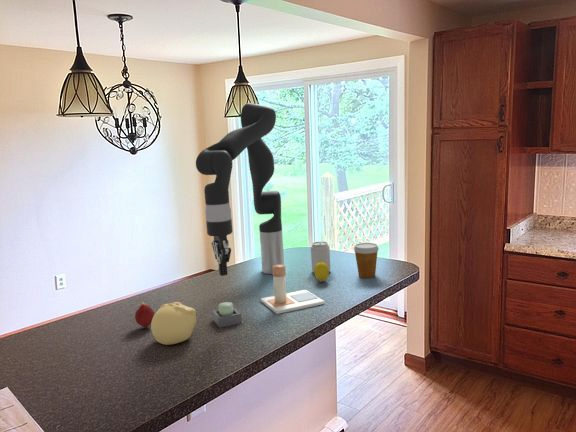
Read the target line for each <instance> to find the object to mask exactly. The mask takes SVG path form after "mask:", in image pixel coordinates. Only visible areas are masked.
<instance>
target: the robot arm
mask: <svg viewBox="0 0 576 432" xmlns="http://www.w3.org/2000/svg"><path fill="white" fill-rule="evenodd" d="M240 111H241V112H240V126H241V127H239V128H237V129H234V130H232V131H230V132H227V134H226V135H225V136H223V137H222V138H221V139H220V140H219V141H218V142H217V143H214V144H212V145H210V146H208V147H205V148H204V149H202V151H201V152H199V153H198V155H197V157H196V160H195V167H196V170H197V171H198V172H199V173H200V174H202V175H203V176H204V175H205V176H215V179H214V182H211V183H207V184H206V185H205V186H204V189H203V190H204V191H203V192H204V202H205V211H204V212H205V223H206V225H205V226H206V235H208V236H209V237H213V240H212V241H211V247H212V249H213V254H214V258H215V260H216V262H217V263H218V275H220V276H221V277H223V276H227V275H228V265H227V264H228V263H229V262H230V259H231V253H232V248H231V247H229V246H230V241H229V240H228V235H231V234H233V220H232V210H231V204H230V195H229V194H230V192H229V189H230V188H229V187H230V181H231V177H232V172H233V171H232V170H233V161H234V160H235V159H237V158H238V156H239V155H240V154H242V152H244V151H245V149H247V151H246V152H247V156H248V167H249V173H250V178H251V184H252V194H253V196H252V197H253V206H254V211H255V213H257V215H272V214H273V216H272V217H271V218H270V219H267V220H265V221H263V222H261V223H260V224H259V228H258V229H259V240H260V255H261V259H260V260H261V271H262V273H263V274H267V275H268V274H269V275H273V269H272V266H274V265H285V255H284V237H283V226H282V225H283V224H282V199H281V198H282V197H281V193H280V192H279V191H278V190H270V191H269V190H268V191H263V190H264V187H265V186H266V185H267V184H268V183H269V181H270V180H271V179H272V177H273V175H274V173H275V160H274V155H273V152H272V151H271V149H270V148H269V147H268V145H267V144H266V143H265V141H264V140H263V139H262V138H264V137H265V136H267V135H269V134H270V133H271V132H272V130H273V129H274V127H275V125H276V120H277V113H276V111H275V109H274V108H272V107H270V106H266V105H263V104H258V103H257V104H256V103H251V102H247V103H246V104H244V105H243V106H242V107H241V110H240Z"/></svg>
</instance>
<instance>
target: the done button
mask: <svg viewBox="0 0 576 432" xmlns="http://www.w3.org/2000/svg"><path fill="white" fill-rule="evenodd" d="M233 307H234V304H233V302H231V301H230V302H229V301H223V302H221V303H219V304H218V310H219V316H220V317H222V316H227V315H232V314H234V311H233Z"/></svg>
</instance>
